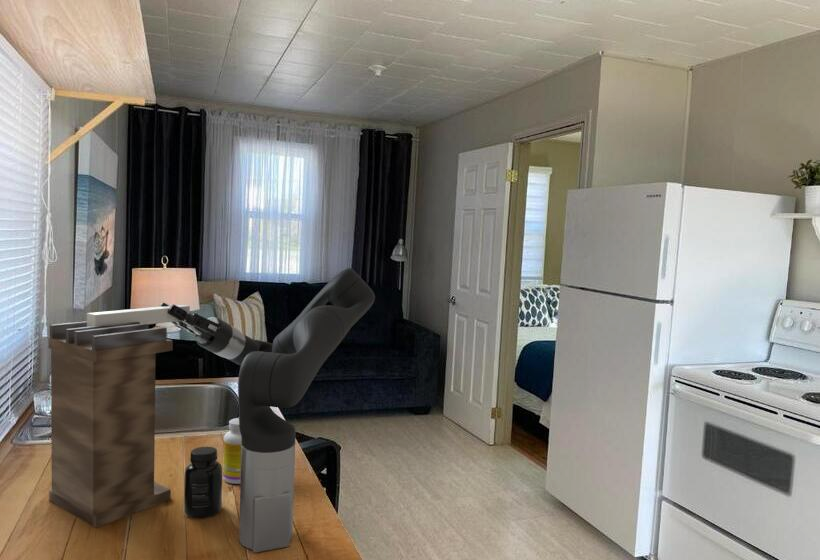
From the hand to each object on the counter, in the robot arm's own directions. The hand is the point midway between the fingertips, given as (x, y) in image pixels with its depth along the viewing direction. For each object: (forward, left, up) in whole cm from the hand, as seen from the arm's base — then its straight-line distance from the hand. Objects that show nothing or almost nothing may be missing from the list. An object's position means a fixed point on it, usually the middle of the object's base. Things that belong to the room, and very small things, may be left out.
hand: (165, 307), depth 132 cm
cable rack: (-11, +10, -36) cm, 39 cm away
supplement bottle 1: (-22, -6, -37) cm, 43 cm away
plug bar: (-3, +5, -3) cm, 6 cm away
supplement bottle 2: (-9, -15, -37) cm, 40 cm away
